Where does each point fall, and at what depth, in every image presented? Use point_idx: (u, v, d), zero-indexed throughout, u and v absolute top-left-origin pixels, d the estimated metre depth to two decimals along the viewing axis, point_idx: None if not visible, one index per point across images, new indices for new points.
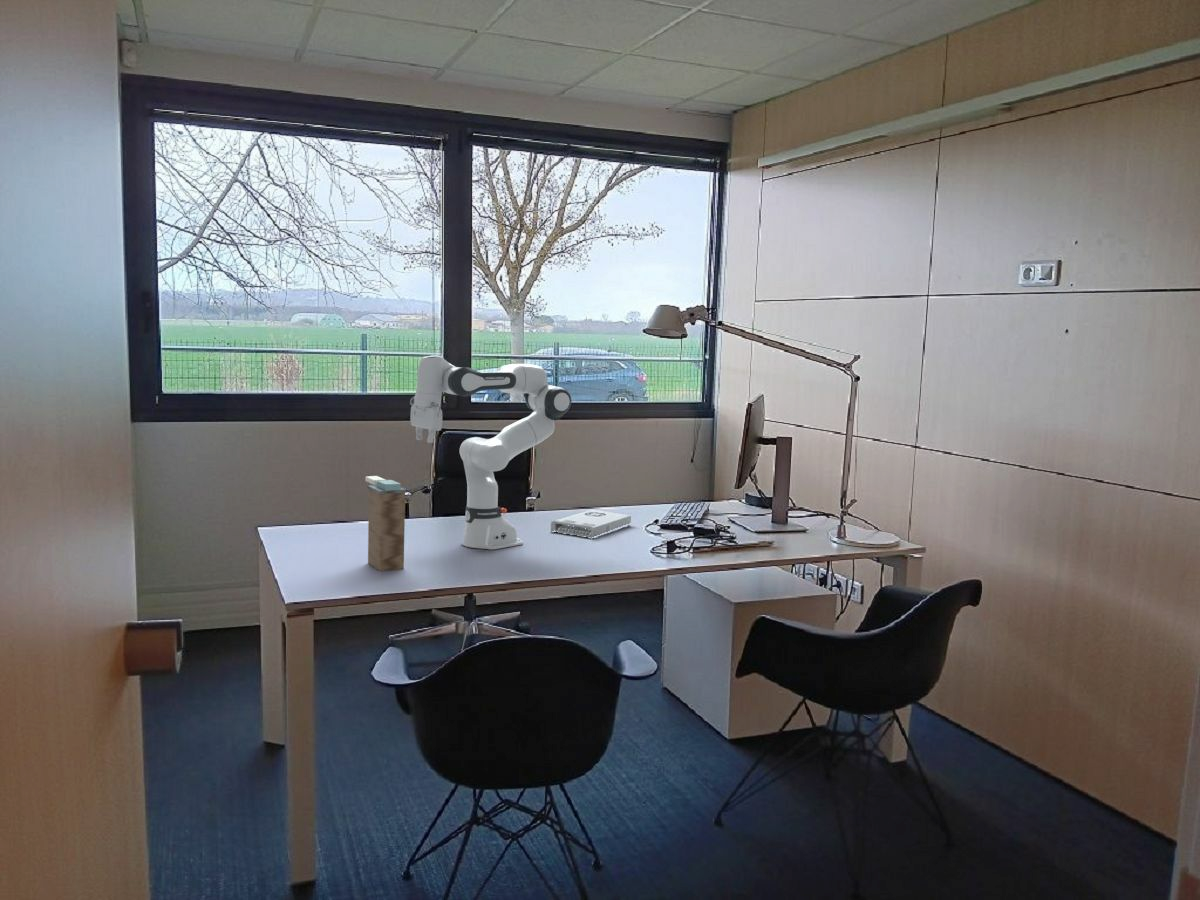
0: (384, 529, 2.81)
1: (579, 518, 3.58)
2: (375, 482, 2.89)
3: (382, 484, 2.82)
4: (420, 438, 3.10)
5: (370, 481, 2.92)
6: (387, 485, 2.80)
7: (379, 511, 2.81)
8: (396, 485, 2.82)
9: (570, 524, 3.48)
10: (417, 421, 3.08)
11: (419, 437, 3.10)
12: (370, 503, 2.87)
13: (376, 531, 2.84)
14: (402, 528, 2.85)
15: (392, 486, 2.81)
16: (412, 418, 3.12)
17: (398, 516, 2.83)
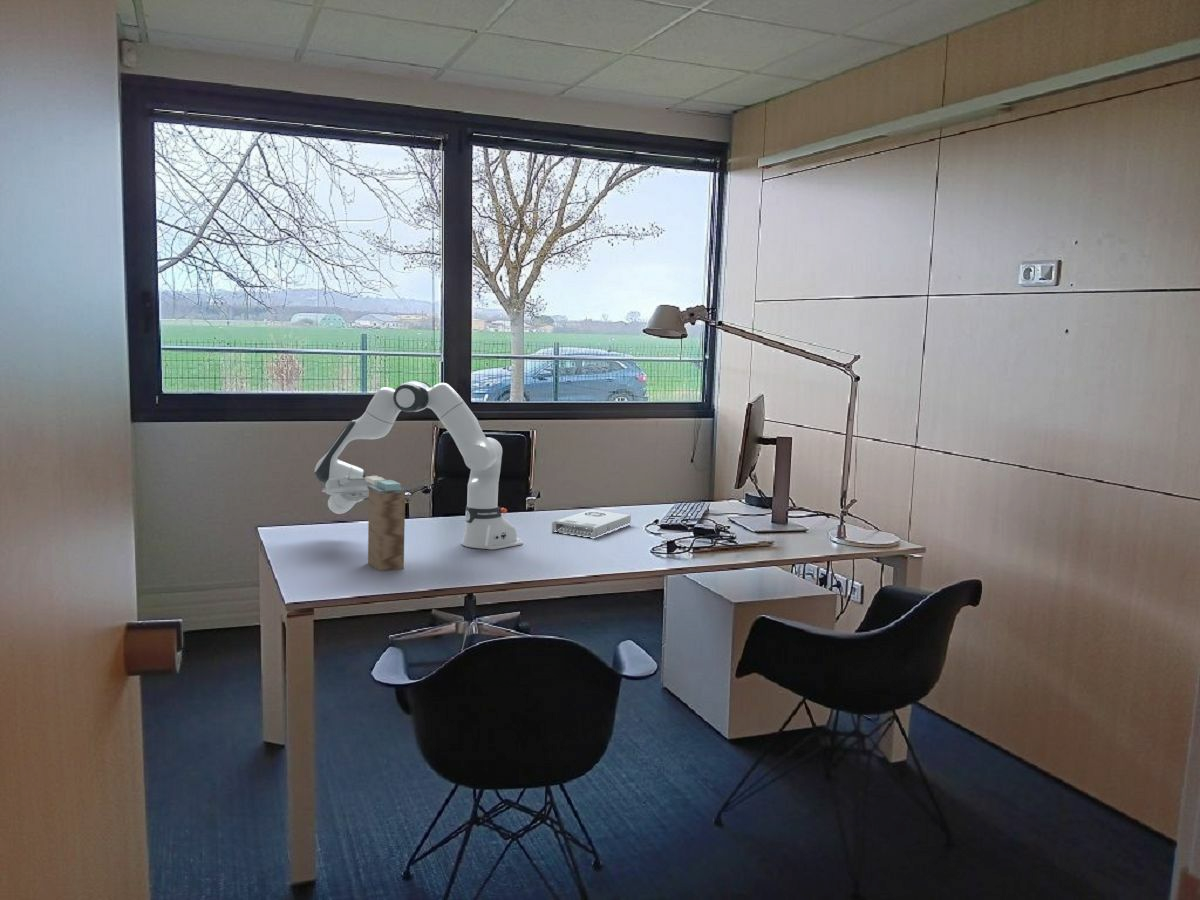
0: (384, 529, 2.81)
1: (579, 518, 3.58)
2: (375, 482, 2.89)
3: (382, 484, 2.82)
4: None
5: (370, 481, 2.92)
6: (387, 485, 2.80)
7: (379, 511, 2.81)
8: (396, 485, 2.82)
9: (571, 524, 3.48)
10: (366, 488, 3.11)
11: None
12: (370, 503, 2.87)
13: (376, 531, 2.84)
14: (402, 528, 2.85)
15: (392, 486, 2.81)
16: None
17: (398, 516, 2.83)
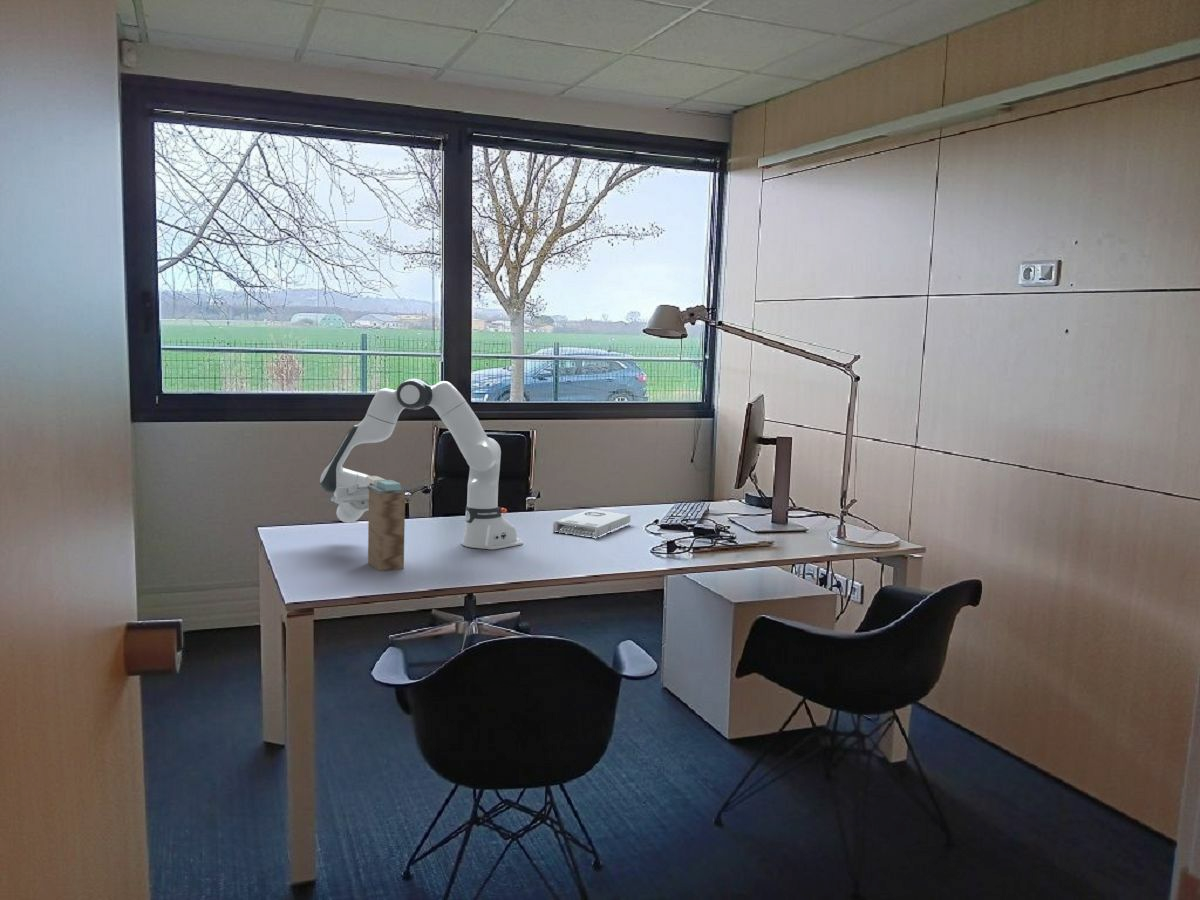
0: (384, 529, 2.81)
1: (580, 518, 3.58)
2: (375, 482, 2.89)
3: (382, 484, 2.82)
4: None
5: (370, 481, 2.92)
6: (387, 485, 2.80)
7: (379, 511, 2.81)
8: (396, 485, 2.82)
9: (573, 524, 3.48)
10: None
11: None
12: (370, 503, 2.87)
13: (376, 531, 2.84)
14: (402, 528, 2.85)
15: (392, 486, 2.81)
16: None
17: (398, 516, 2.83)
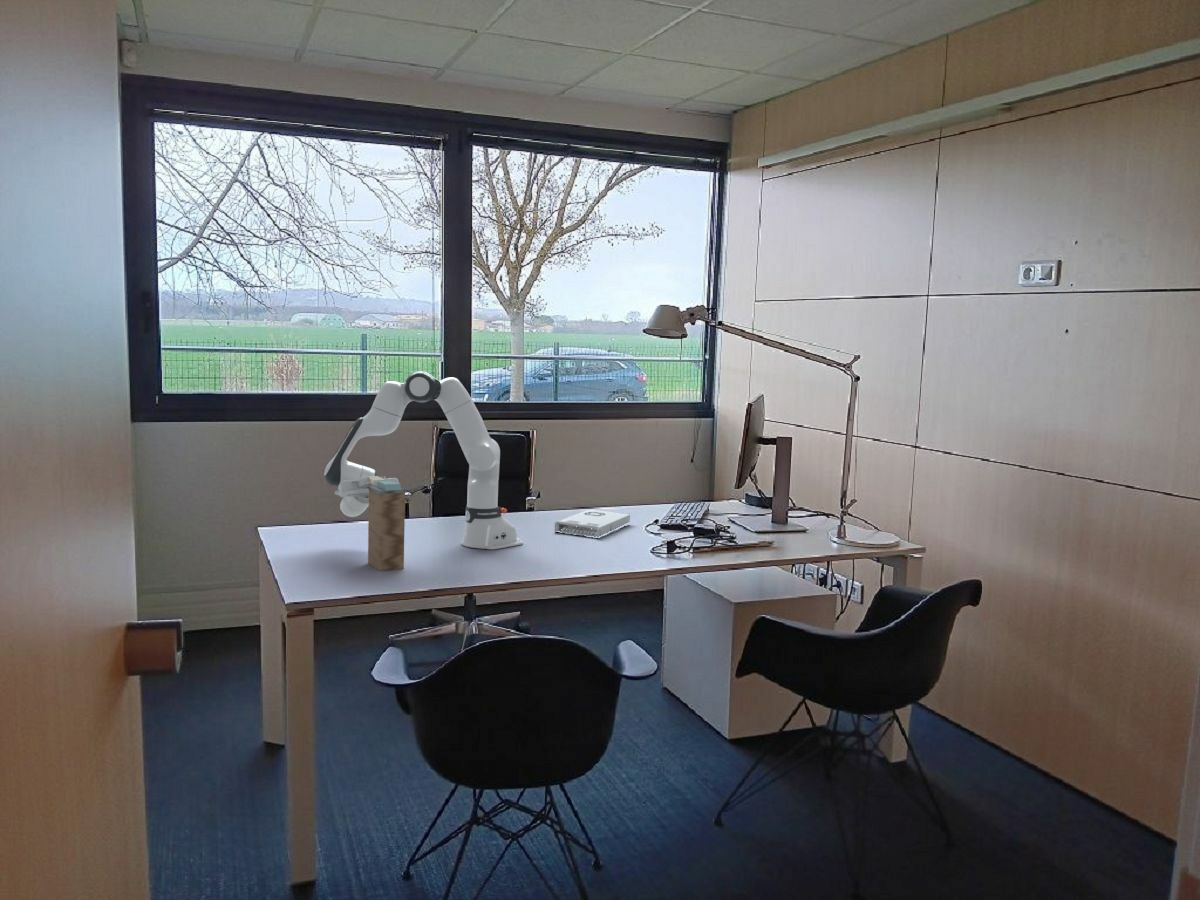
0: (384, 529, 2.81)
1: (581, 518, 3.58)
2: (375, 482, 2.89)
3: (382, 484, 2.82)
4: None
5: (370, 481, 2.92)
6: (387, 485, 2.80)
7: (379, 511, 2.81)
8: (396, 485, 2.82)
9: (574, 524, 3.47)
10: None
11: None
12: (370, 503, 2.87)
13: (376, 531, 2.84)
14: (402, 528, 2.85)
15: (392, 486, 2.81)
16: None
17: (398, 516, 2.83)
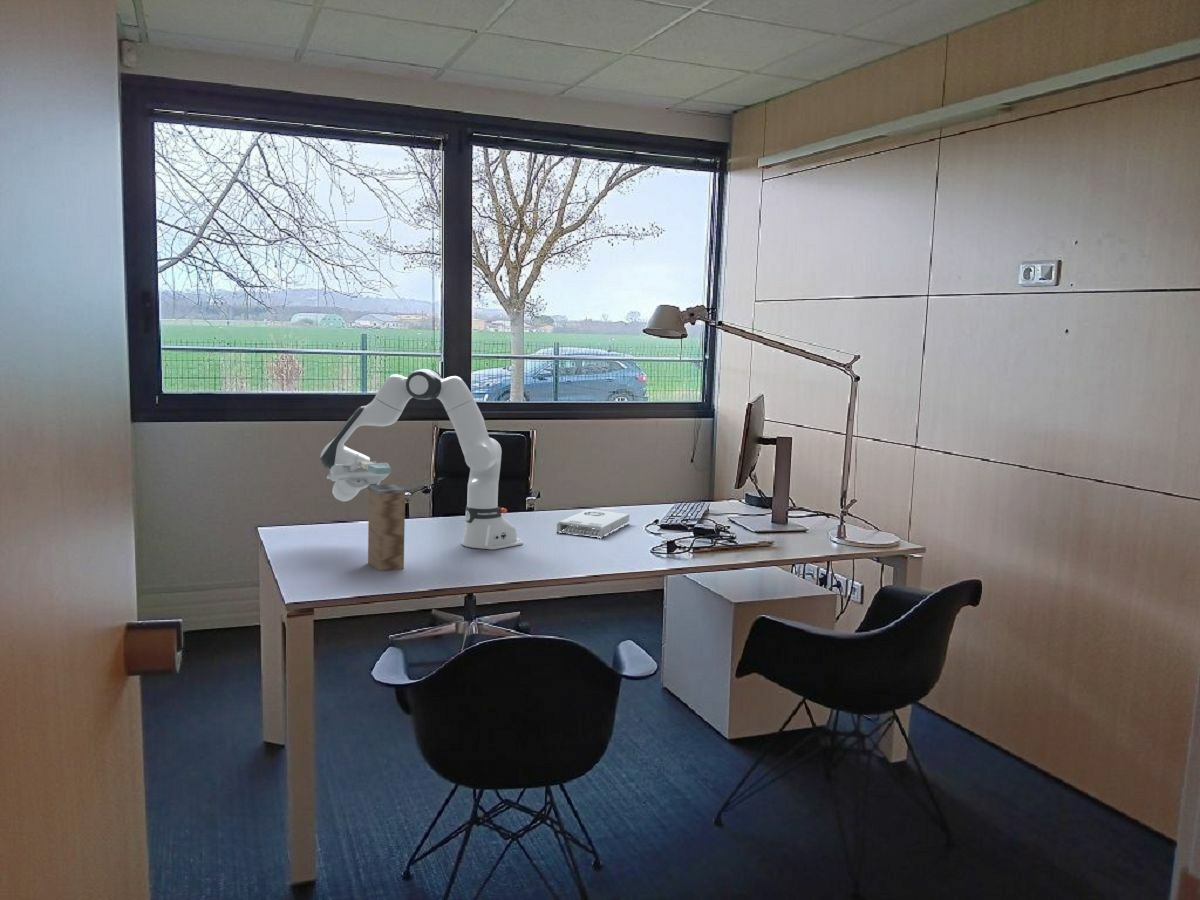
0: (384, 529, 2.81)
1: (582, 518, 3.58)
2: (366, 466, 2.95)
3: (373, 468, 2.88)
4: None
5: (361, 465, 2.99)
6: (378, 469, 2.86)
7: (379, 511, 2.81)
8: (386, 469, 2.88)
9: (577, 524, 3.47)
10: (371, 474, 3.07)
11: None
12: (370, 503, 2.87)
13: (376, 531, 2.84)
14: (402, 528, 2.85)
15: (382, 470, 2.87)
16: (383, 474, 3.10)
17: (398, 516, 2.83)
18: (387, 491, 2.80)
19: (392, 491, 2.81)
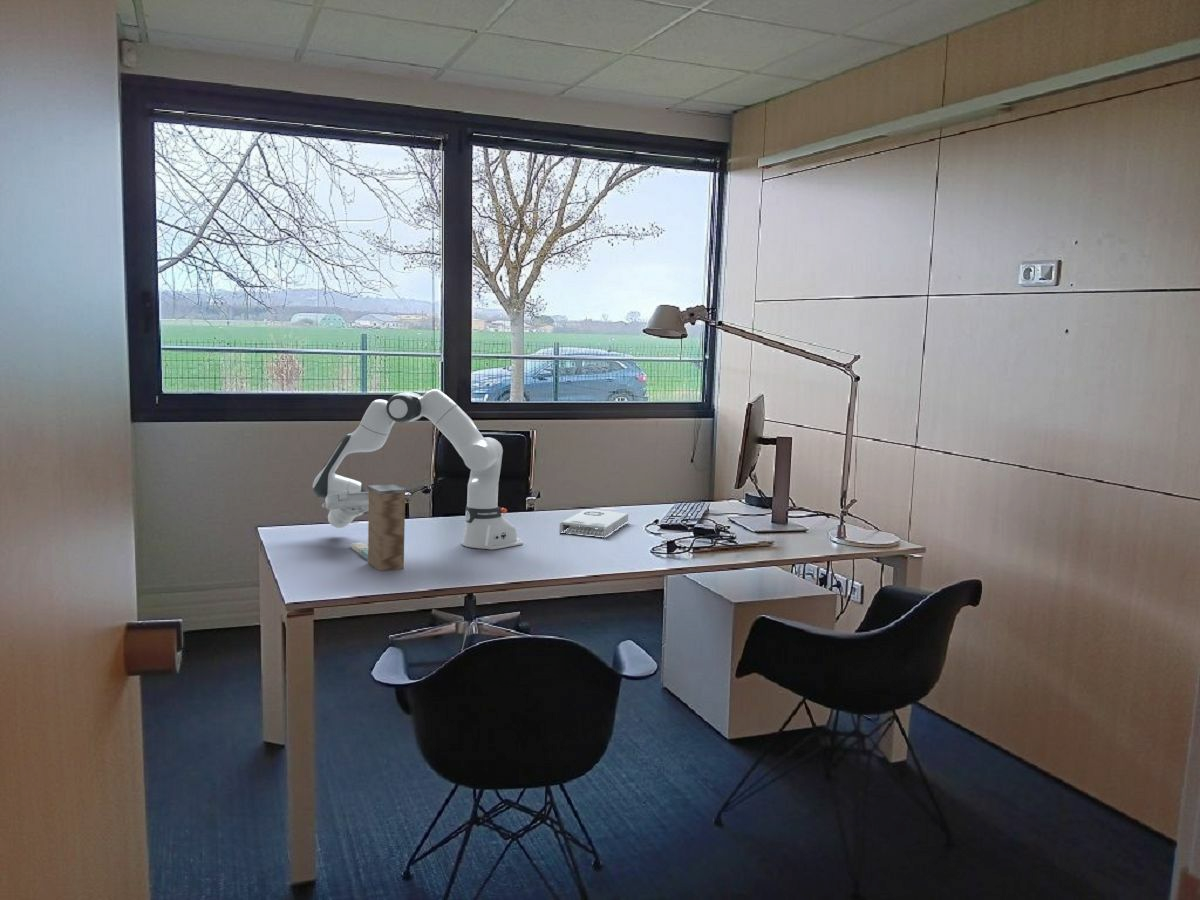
0: (384, 529, 2.81)
1: (583, 518, 3.58)
2: (359, 550, 3.04)
3: (365, 554, 2.97)
4: None
5: (355, 549, 3.08)
6: None
7: (379, 511, 2.81)
8: None
9: (579, 525, 3.47)
10: (365, 502, 3.13)
11: None
12: (370, 503, 2.87)
13: (376, 531, 2.84)
14: (402, 528, 2.85)
15: None
16: None
17: (398, 516, 2.83)
18: (387, 491, 2.80)
19: (392, 491, 2.81)
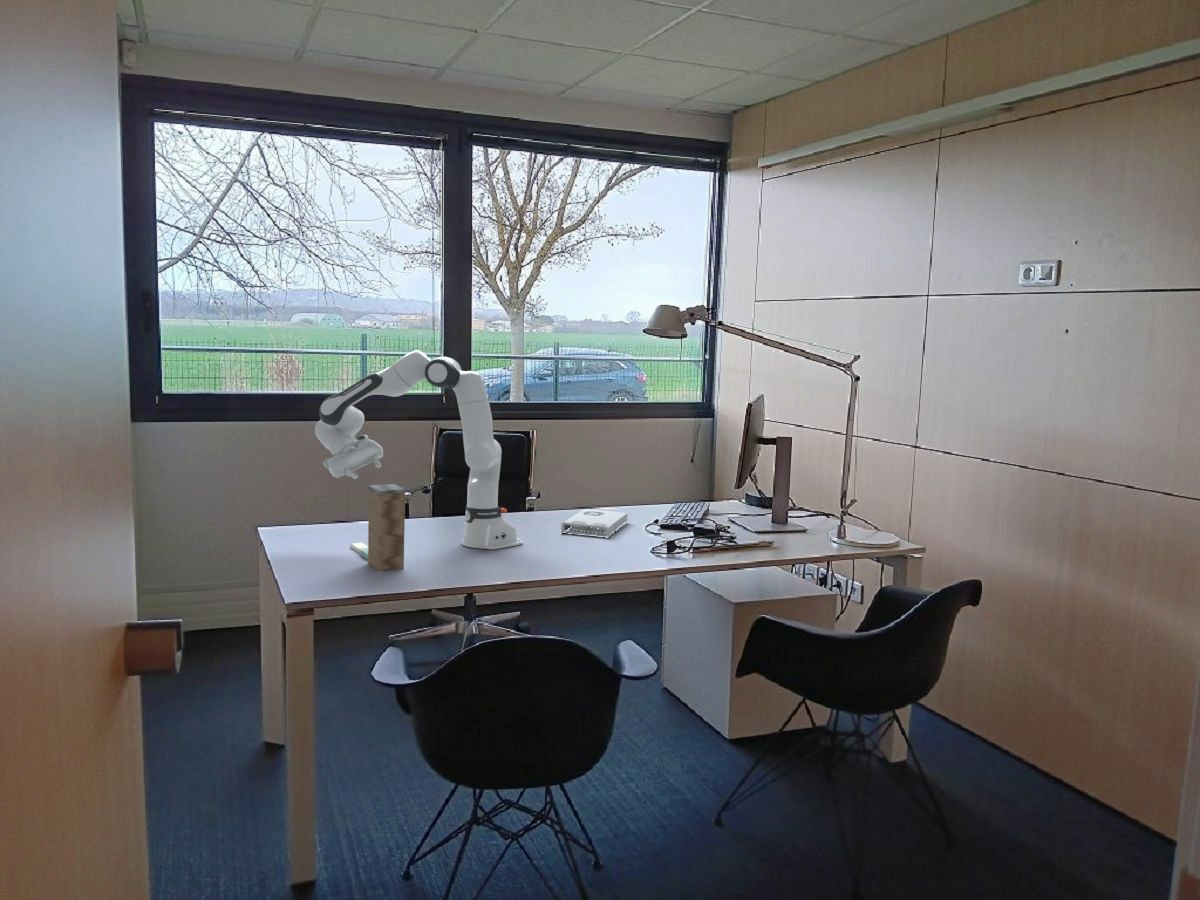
0: (384, 529, 2.81)
1: (584, 518, 3.58)
2: (359, 550, 3.04)
3: (365, 554, 2.97)
4: (376, 465, 3.14)
5: (355, 549, 3.08)
6: None
7: (379, 511, 2.81)
8: None
9: (581, 525, 3.47)
10: None
11: (376, 466, 3.14)
12: (370, 503, 2.87)
13: (376, 531, 2.84)
14: (402, 528, 2.85)
15: None
16: None
17: (398, 516, 2.83)
18: (387, 491, 2.80)
19: (392, 491, 2.81)
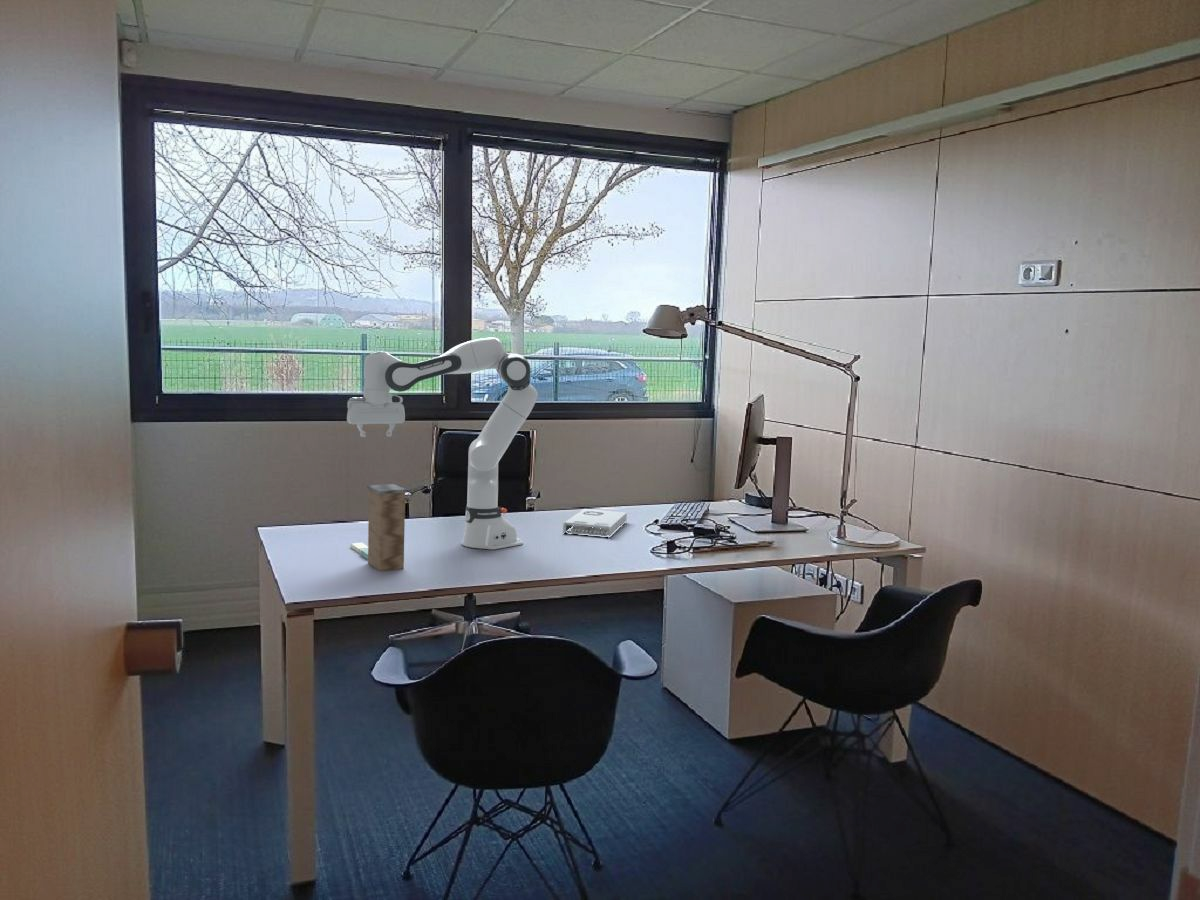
0: (384, 529, 2.81)
1: (584, 518, 3.58)
2: (359, 550, 3.04)
3: (365, 554, 2.97)
4: (387, 434, 3.14)
5: (355, 549, 3.08)
6: None
7: (379, 511, 2.81)
8: None
9: (583, 525, 3.48)
10: None
11: (386, 433, 3.15)
12: (370, 503, 2.87)
13: (376, 531, 2.84)
14: (402, 528, 2.85)
15: None
16: None
17: (398, 516, 2.83)
18: (387, 491, 2.80)
19: (392, 491, 2.81)
